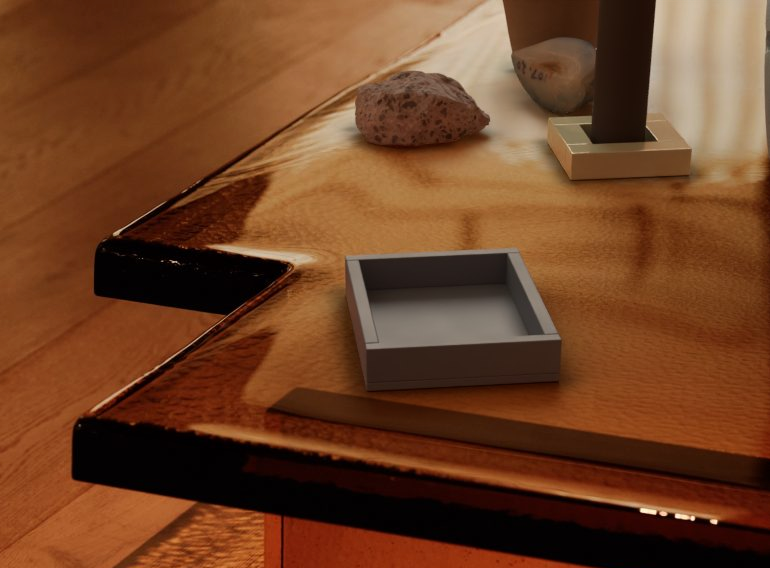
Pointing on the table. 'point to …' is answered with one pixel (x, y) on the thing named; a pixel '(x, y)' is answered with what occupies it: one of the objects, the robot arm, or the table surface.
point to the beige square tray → (618, 150)
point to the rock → (417, 110)
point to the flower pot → (550, 21)
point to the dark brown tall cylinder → (622, 70)
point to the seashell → (557, 73)
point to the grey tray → (449, 320)
